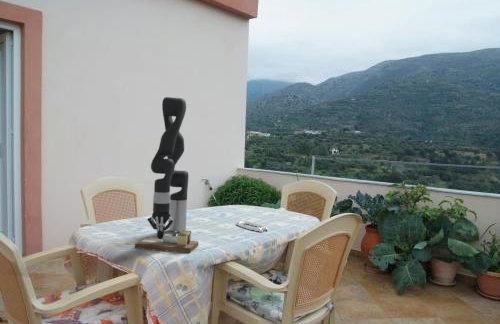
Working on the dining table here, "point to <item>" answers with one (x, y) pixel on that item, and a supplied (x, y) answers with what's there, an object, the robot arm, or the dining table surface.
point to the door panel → (165, 245)
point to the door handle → (251, 227)
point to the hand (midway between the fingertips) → (160, 238)
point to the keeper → (184, 238)
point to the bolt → (170, 237)
